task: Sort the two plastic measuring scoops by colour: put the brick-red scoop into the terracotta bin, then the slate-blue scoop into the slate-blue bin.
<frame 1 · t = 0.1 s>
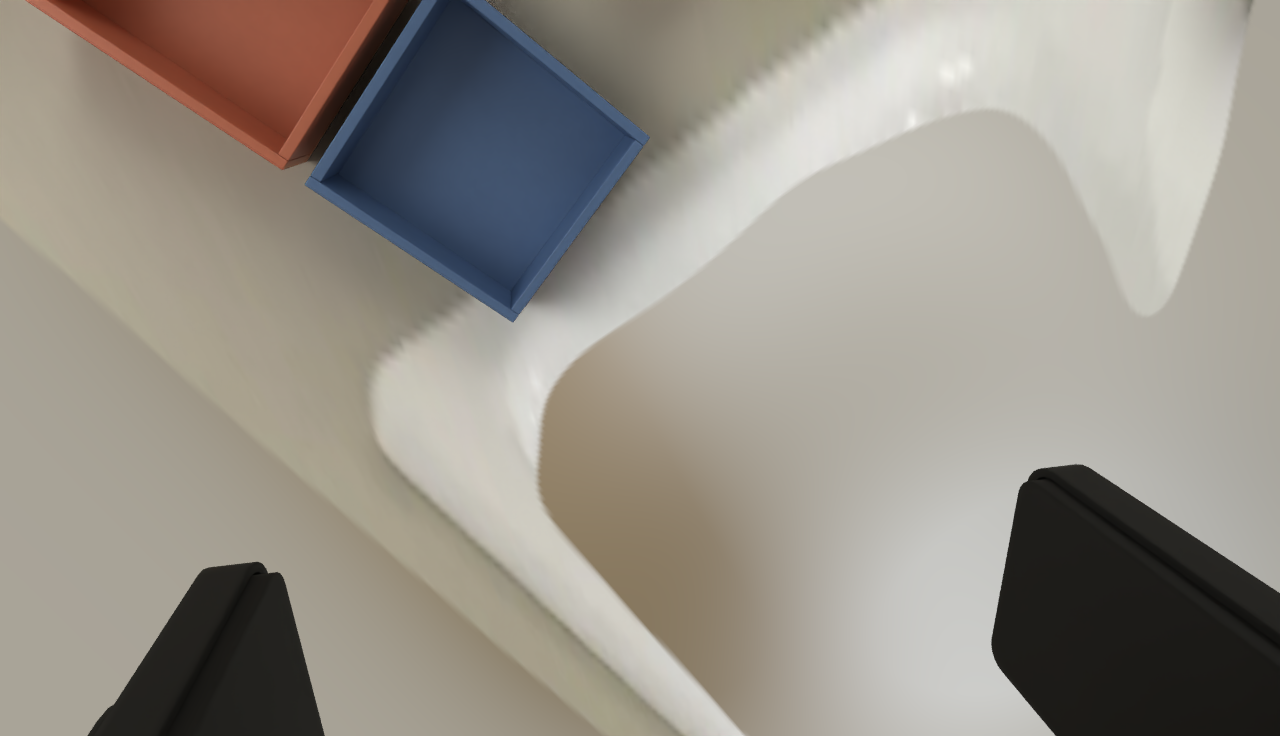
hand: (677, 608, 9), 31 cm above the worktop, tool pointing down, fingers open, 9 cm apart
blue bin: (484, 153, 36), on the worktop
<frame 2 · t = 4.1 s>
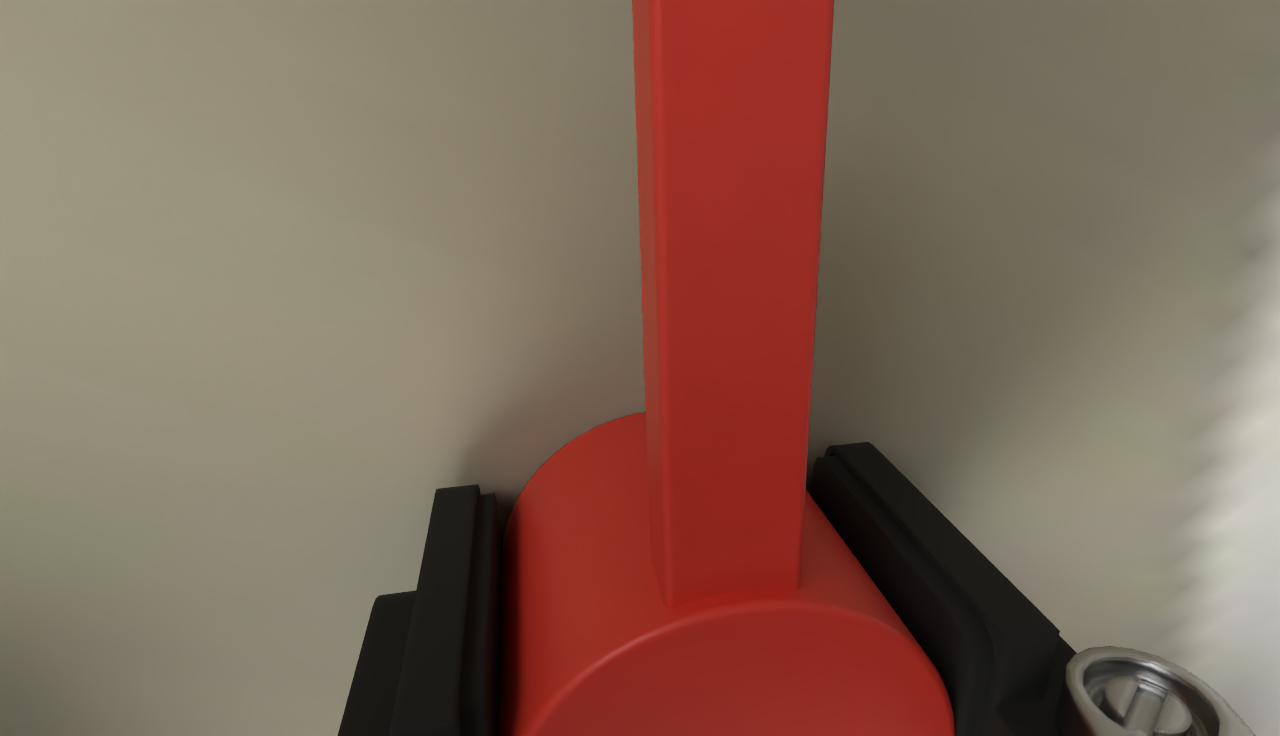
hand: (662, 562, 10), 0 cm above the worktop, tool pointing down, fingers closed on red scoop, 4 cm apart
red scoop: (658, 547, 10), on the worktop, touching gripper
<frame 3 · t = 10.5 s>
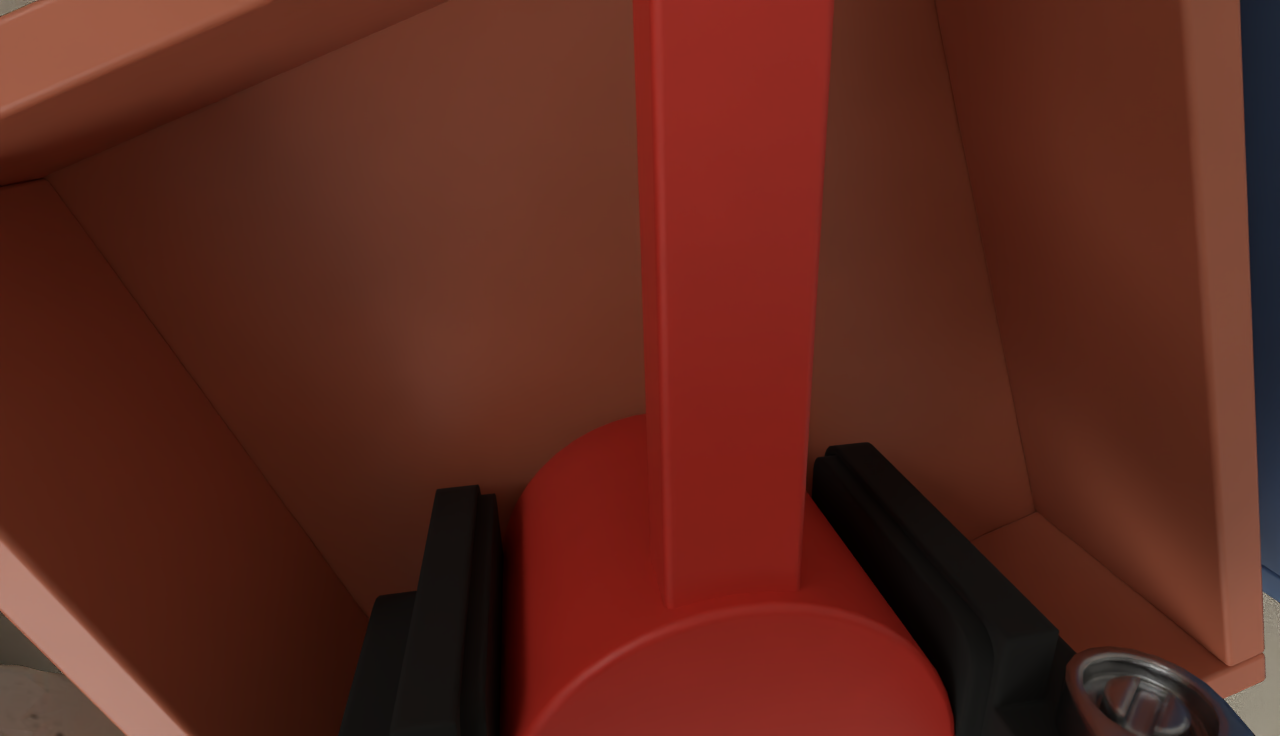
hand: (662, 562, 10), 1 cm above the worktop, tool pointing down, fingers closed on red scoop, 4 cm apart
red bin: (635, 364, 10), on the worktop
red scoop: (658, 548, 10), point 1 cm above the worktop, touching gripper
when the fingers open (3 cm above the worktop, at t = 21.4 s): red scoop drops 3 cm, resting on red bin.
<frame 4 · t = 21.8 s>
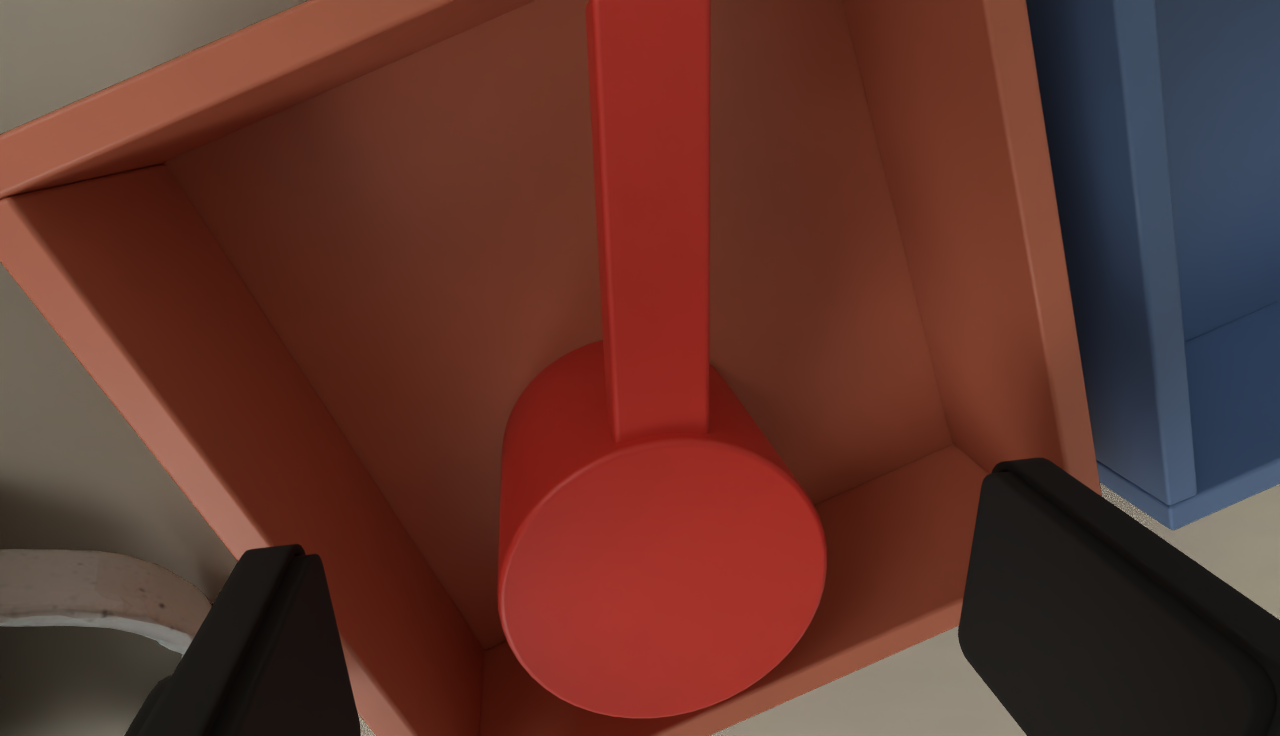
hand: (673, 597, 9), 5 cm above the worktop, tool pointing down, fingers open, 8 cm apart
red bin: (618, 316, 13), on the worktop
blue bin: (1241, 43, 13), on the worktop
red scoop: (625, 450, 13), point 1 cm above the worktop, touching red bin
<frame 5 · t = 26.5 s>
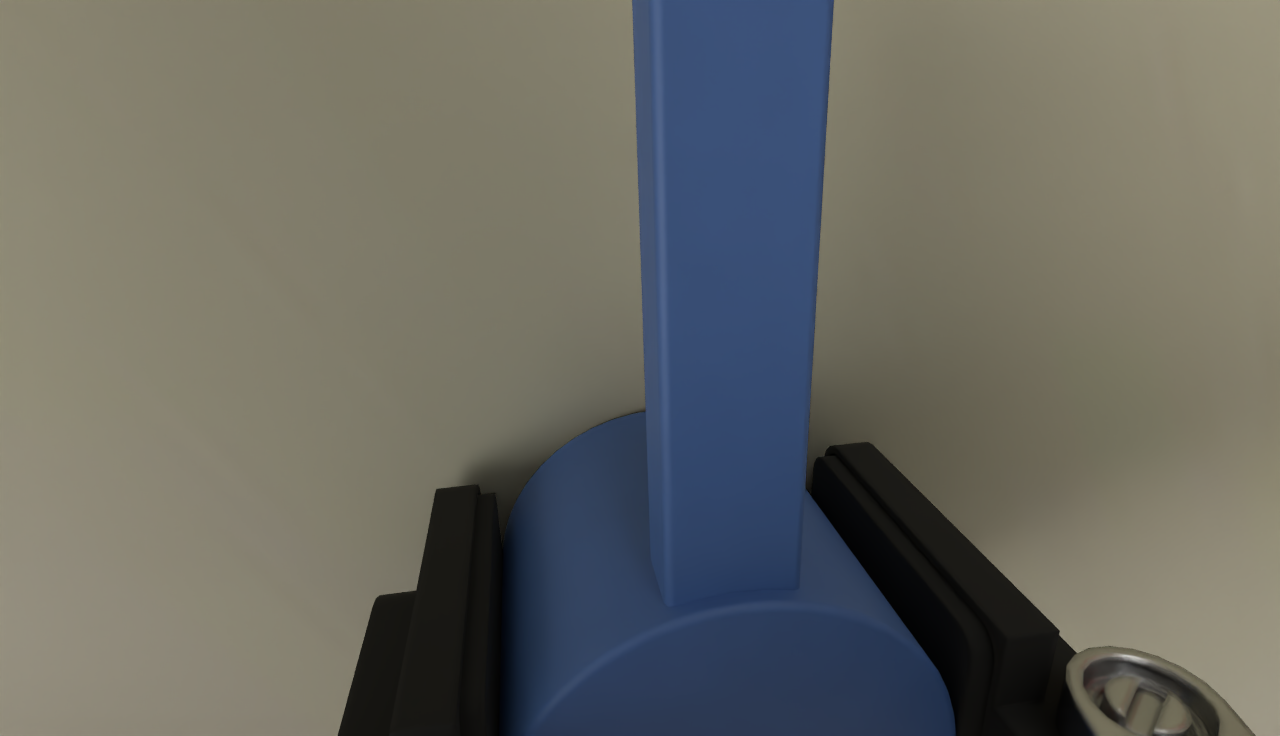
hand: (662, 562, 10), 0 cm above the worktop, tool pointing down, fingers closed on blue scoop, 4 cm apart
blue scoop: (658, 547, 10), on the worktop, touching gripper
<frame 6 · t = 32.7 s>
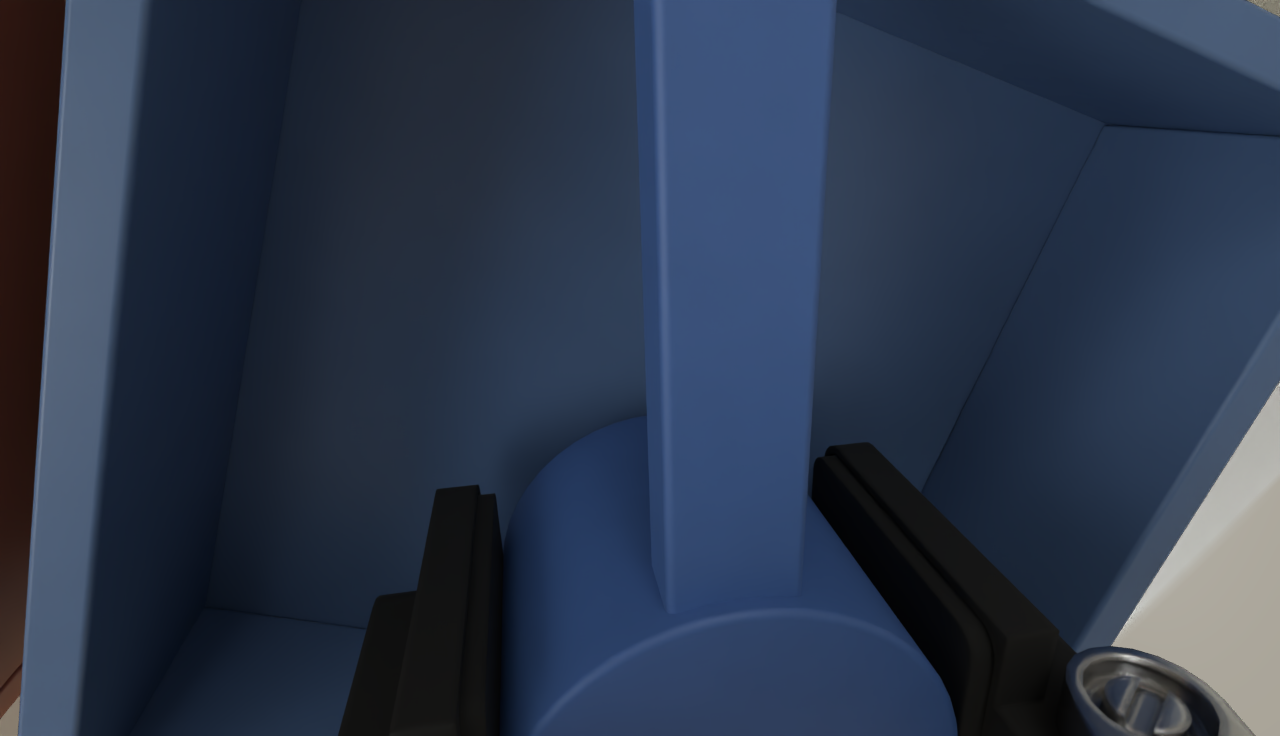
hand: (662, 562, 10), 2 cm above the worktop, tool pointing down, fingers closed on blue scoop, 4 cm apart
blue bin: (639, 356, 11), on the worktop
blue scoop: (659, 551, 10), point 1 cm above the worktop, touching gripper
when the fingers open (4 cm above the worktop, at t = 42.7 s): blue scoop drops 3 cm, resting on blue bin.
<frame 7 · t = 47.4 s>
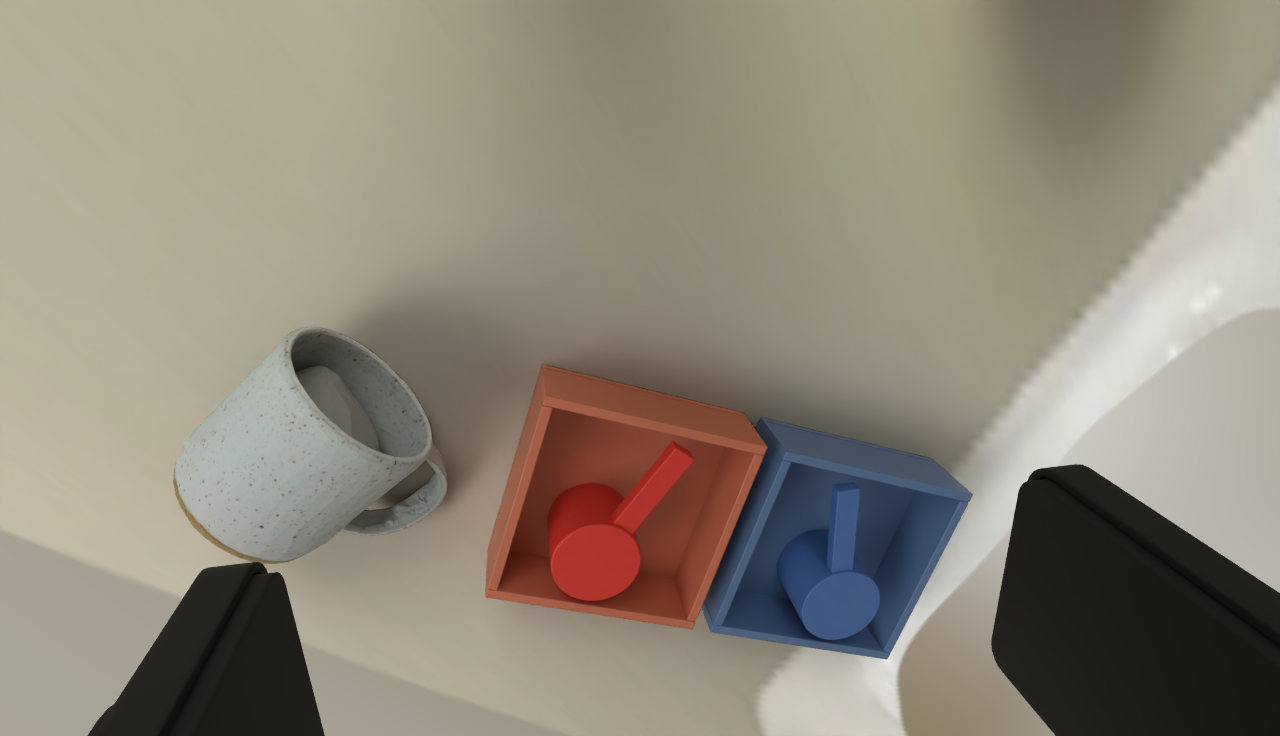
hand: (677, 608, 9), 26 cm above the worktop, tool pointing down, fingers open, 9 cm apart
ceramic mug: (352, 425, 35), on the worktop
red bin: (614, 481, 39), on the worktop
blue bin: (812, 521, 42), on the worktop
red scoop: (588, 518, 39), resting on red bin
blue scoop: (812, 561, 42), resting on blue bin
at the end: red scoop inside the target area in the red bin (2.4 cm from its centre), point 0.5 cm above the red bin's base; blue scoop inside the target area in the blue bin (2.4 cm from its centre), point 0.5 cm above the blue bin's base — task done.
